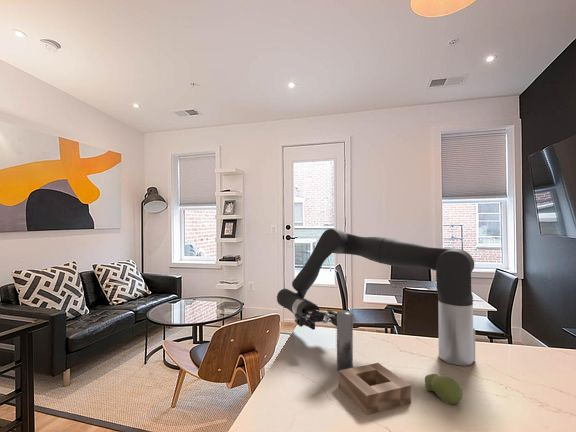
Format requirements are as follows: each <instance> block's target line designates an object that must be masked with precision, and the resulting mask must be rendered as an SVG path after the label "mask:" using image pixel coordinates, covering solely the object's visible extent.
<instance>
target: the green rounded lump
mask: <svg viewBox="0 0 576 432" xmlns="http://www.w3.org/2000/svg"><path fill="white" fill-rule="evenodd" d="M424 383H425V389H426V390H427V391H428V392H434V394H436V396H437V397H438V398H440V399H441V400H442V401H443V402H444V403H447V404H450V405H457V404H459V403H460V402H461V401H462V399H463V397H464V391H463V387H462V386H461V384H460V383H459V382H458V381H457V380H456V379H454V378H452V377H450V376H446V375H440V374H437V373H430V374H427V375H425V376H424Z"/></svg>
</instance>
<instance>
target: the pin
mask: <svg viewBox="0 0 576 432" xmlns="http://www.w3.org/2000/svg"><path fill="white" fill-rule="evenodd" d="M336 313H337V326H336V371H337V372H339V370H343V369H349V368H354V366H353V365H354V359H353V357H354V356H353V355H354V348H353V347H354V334H353V332H354V325H353V323H354V322H353V321H354V320H353V319H354V314H353V313H354V312H353V311H350V310H338V311H337V312H336Z"/></svg>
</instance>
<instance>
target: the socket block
mask: <svg viewBox="0 0 576 432" xmlns="http://www.w3.org/2000/svg"><path fill="white" fill-rule="evenodd" d="M338 388H339V389H341V390H342V391H343V393H345V394H346V395H347V396H348V397H349V398H350V399H351V401H353V402H354V404H356V406H358V407H359V408H360V409H361V411H363V412H364V413H365V415H370V414H373V413H378V412H381V411H385V410H389V409H393V408H396V407H401V406H403V405H408V404H411V402H412V398H411V397H412V385H411V384H410V383H408V382H407V381H405V380H404V379H403V378H401V377H399V376H398V375H396V373H393V371H391V370H389V369H388V368H387V367H385V366H383V365H382V364H381V363H379V362H374V363H370V364H365V365H360V366H355V367H354V366H353V368H349V369H343V370H339V371H338Z"/></svg>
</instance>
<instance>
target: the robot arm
mask: <svg viewBox="0 0 576 432" xmlns="http://www.w3.org/2000/svg"><path fill="white" fill-rule="evenodd" d="M332 254H336V255H337V254H340V255H342V254H343V255H352V256H359V257H362V258H364V259H367V260H369V261H372V262H375V263H378V264H382V265H387V266H392V267H399V268H400V267H401V268H420V269H421V268H422V269H427V270H432V271H435V273H436V274H435V277H436V279H435V280H436V281H435V282H436V292H437V295H438V306H437V307H438V308H437V309H438V358H440V360H442V361H443V362H446V363H448V364H451V365H454V366H455V365H457V366H464V367H465V366H471V365H473V363H474V362H475V361H476V329H475V327H474V297H473V293H472V292H473V291H472V272H473V270H474V268H475V261H474V259H473V257H472V256H471V254H470V253H469V252H467V251H466V250H464V249H460V248H449V247H433V246H428V245H427V246H426V245H421V244H418V243H414V242H411V241H410V242H409V241H406V240H401V239H397V238H396V239H395V238H389V237H382V236H361V235H360V236H359V235H355V234H352V233H348V232H345V231H344V230H343V231H342V230H339V229H336V228H327V229H326V230H324V231H323V233H322V234H321V235H320V237H319V239H318V241H317V243H316V245H315V247H314V248H313V251H312V252H311V254H310V256H309V258H308V259H307V261H306V263H305V264H304V266H303V267H302V269H300V270H299V272H298V274H297V275H296V276H295V277H294V279H293V280H292V282H291V287H292V288H293V289H294V290H295V291H296V292H295V291H292V290H291V289H288V288H283V289H280V290H279V291H278V293H277V295H276V301H277V304H278V305H279V306H281V307H283V308H285V309H286V310H288V311H290V312H291V313H292V314H293V315H294V322H295V323H296V324H297V326H299V327H303V326H304V327H308V328H309V329H311V330H313V331H314V330H316V323H323V324H328V323H330V324H332V325H333V326H335V327H337V312H335V311H333V310H332V309H327V311H322V310H321V309H320V308H319V306H318V305H317V304H316V303H314V302H312V301H311V300H309V299H308V298H305V297H306V294H307V292H308V291H309V290H310V288H311V287H312V285H313V284H314V283H315V281H316V280H317V279H318V276H319V274H320V271H321V268H322V266H323V264H324V263H325V261H326V260H327V258H329V257H330V256H331V255H332Z"/></svg>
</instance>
